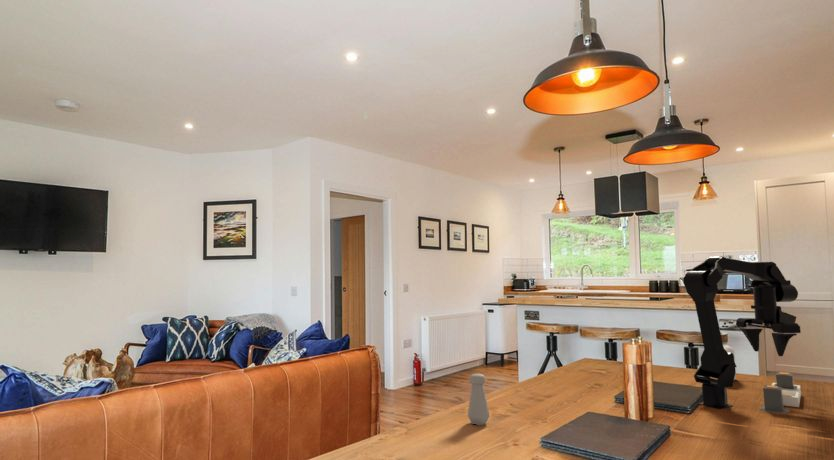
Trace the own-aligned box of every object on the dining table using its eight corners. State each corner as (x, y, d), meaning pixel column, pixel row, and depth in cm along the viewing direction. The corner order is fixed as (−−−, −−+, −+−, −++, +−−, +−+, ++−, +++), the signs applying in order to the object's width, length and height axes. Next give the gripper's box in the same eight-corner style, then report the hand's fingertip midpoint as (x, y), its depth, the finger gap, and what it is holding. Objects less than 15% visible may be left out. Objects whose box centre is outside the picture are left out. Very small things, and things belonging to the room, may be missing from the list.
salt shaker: (491, 421, 135) (489, 372, 136) (487, 427, 129) (485, 377, 130) (470, 419, 137) (469, 371, 138) (465, 425, 131) (464, 375, 132)
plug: (782, 412, 135) (780, 388, 135) (764, 410, 137) (763, 387, 138) (783, 409, 138) (781, 386, 139) (766, 406, 141) (764, 384, 141)
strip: (799, 408, 140) (796, 382, 140) (768, 404, 144) (766, 379, 145) (802, 385, 165) (800, 364, 166) (776, 382, 170) (774, 362, 170)
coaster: (780, 416, 133) (780, 414, 133) (753, 409, 139) (753, 408, 139) (795, 412, 136) (795, 410, 136) (768, 406, 142) (768, 404, 142)
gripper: (816, 304, 144) (820, 358, 143) (765, 300, 163) (768, 348, 161) (780, 304, 143) (784, 359, 142) (733, 300, 162) (736, 349, 160)
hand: (768, 353), depth 151 cm, fingers open, 9 cm apart
